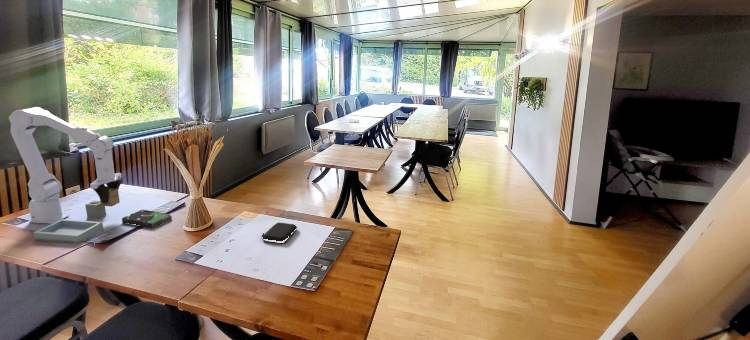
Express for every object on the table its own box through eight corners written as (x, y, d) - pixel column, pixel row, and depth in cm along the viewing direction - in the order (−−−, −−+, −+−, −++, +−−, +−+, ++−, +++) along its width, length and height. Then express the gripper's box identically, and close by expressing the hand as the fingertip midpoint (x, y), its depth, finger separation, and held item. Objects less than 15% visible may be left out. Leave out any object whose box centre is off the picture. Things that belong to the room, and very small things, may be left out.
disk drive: (122, 224, 154) (153, 229, 151) (121, 218, 153) (152, 223, 150) (142, 215, 164) (172, 219, 161) (141, 209, 163) (171, 213, 160)
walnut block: (100, 205, 153) (98, 191, 151) (108, 201, 157) (106, 187, 155) (111, 206, 153) (109, 191, 151) (119, 202, 157) (117, 188, 155)
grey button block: (87, 218, 157) (85, 204, 155) (95, 213, 161) (93, 200, 160) (98, 218, 157) (96, 204, 155) (106, 214, 161) (104, 201, 159)
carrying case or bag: (274, 227, 159) (257, 242, 145) (273, 220, 159) (257, 235, 145) (298, 230, 158) (284, 246, 144) (298, 223, 157) (284, 239, 143)
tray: (34, 240, 137) (33, 232, 136) (62, 226, 148) (61, 219, 148) (78, 243, 136) (77, 235, 136) (103, 229, 148) (102, 222, 147)
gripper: (101, 173, 144) (106, 207, 147) (127, 163, 157) (131, 194, 161) (82, 172, 144) (88, 206, 148) (110, 162, 158) (114, 193, 161)
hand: (109, 200), depth 154 cm, fingers closed on walnut block, 4 cm apart
